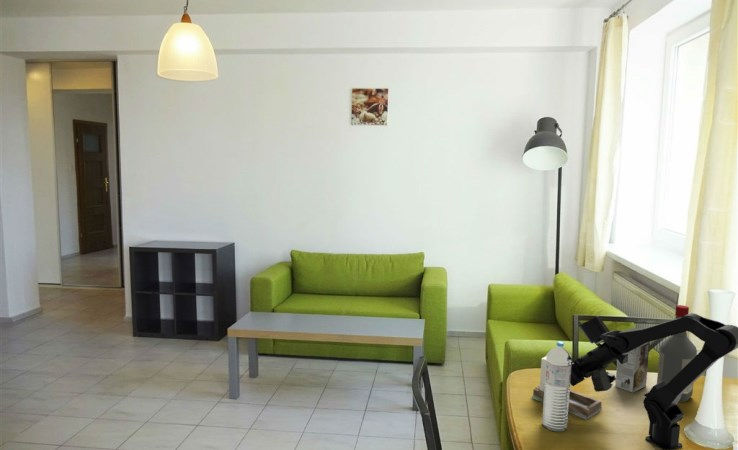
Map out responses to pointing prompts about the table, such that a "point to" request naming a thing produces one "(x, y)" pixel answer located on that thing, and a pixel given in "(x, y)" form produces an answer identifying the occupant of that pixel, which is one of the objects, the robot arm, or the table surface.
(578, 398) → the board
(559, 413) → the water bottle
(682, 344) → the liquor
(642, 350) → the coffee box
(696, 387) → the table surface
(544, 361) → the white juice carton
